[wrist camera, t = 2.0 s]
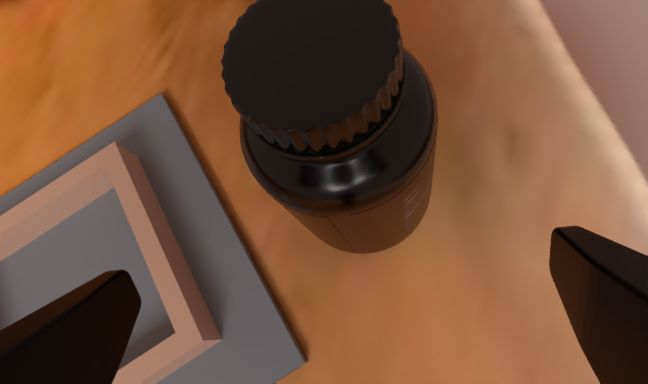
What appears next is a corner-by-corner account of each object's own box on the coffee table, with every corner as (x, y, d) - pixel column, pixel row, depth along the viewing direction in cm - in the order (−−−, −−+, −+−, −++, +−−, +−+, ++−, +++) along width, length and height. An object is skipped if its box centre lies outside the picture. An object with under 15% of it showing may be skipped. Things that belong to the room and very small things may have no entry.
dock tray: (307, 361, 19) (293, 366, 17) (-12, 571, 19) (-72, 606, 17) (166, 97, 26) (141, 74, 24) (-73, 254, 26) (-123, 246, 23)
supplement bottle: (380, 110, 23) (352, -100, 12) (457, 207, 20) (517, 61, 9) (277, 177, 23) (148, 33, 12) (341, 283, 20) (257, 230, 9)
